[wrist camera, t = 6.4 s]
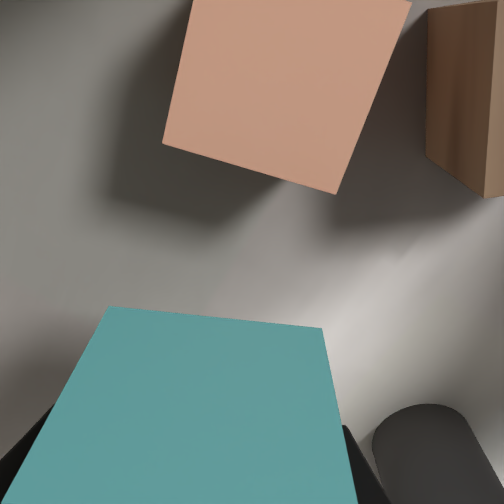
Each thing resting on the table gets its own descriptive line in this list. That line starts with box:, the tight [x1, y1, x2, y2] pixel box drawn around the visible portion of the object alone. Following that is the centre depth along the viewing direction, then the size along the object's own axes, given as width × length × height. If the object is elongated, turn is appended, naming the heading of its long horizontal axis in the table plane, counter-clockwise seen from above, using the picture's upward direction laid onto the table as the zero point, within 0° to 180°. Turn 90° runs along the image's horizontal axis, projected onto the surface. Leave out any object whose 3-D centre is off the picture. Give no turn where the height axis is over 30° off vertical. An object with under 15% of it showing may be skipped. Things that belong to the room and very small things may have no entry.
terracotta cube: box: [162, 0, 412, 195], centre depth 14 cm, size 5×5×5 cm
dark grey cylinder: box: [372, 404, 504, 504], centre depth 22 cm, size 5×5×5 cm
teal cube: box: [1, 306, 358, 504], centre depth 10 cm, size 5×5×5 cm
